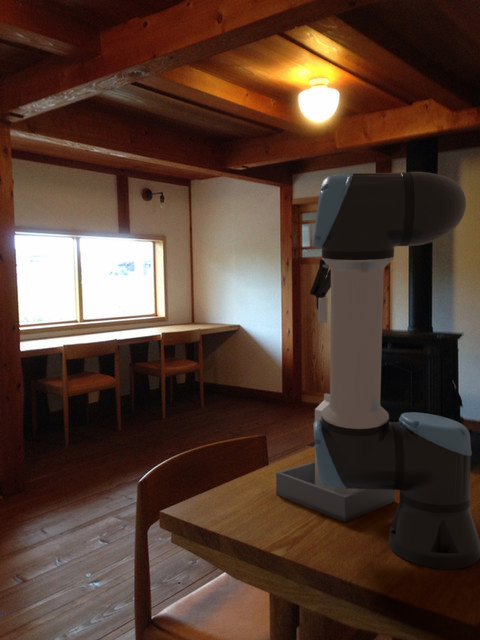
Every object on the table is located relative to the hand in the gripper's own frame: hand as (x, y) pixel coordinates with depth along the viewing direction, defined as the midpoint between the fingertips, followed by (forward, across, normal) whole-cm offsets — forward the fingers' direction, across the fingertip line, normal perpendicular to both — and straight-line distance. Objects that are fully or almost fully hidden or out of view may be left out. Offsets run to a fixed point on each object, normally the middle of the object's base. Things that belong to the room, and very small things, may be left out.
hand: (343, 324), depth 138 cm
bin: (+37, -12, +17) cm, 42 cm away
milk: (+36, -12, +17) cm, 42 cm away
